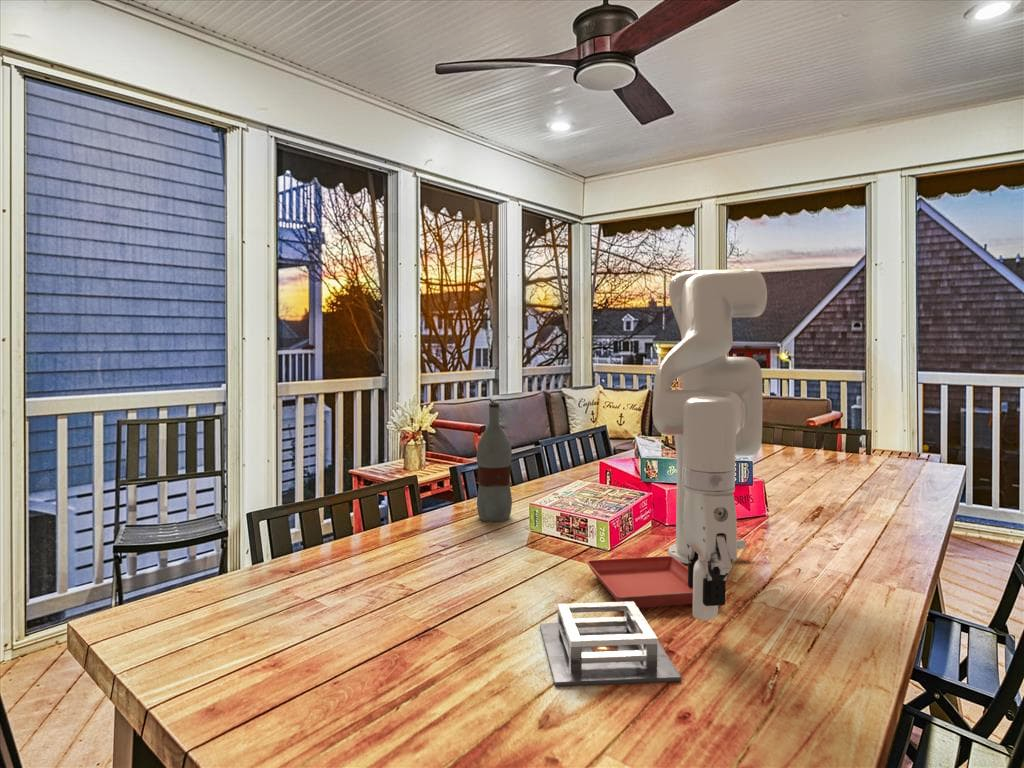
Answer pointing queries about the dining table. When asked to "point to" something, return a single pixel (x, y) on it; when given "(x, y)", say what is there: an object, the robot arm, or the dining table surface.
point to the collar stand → (605, 647)
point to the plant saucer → (645, 580)
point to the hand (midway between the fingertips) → (705, 594)
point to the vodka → (494, 470)
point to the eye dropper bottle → (701, 592)
